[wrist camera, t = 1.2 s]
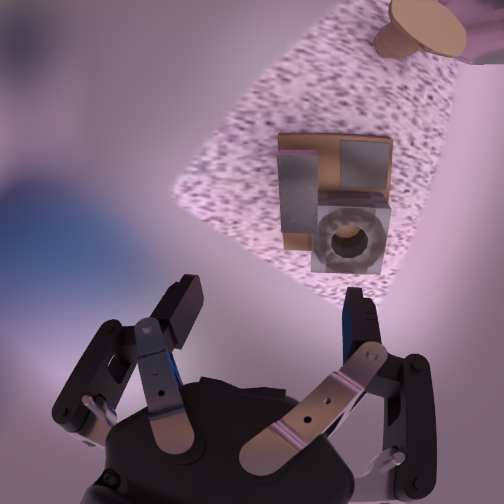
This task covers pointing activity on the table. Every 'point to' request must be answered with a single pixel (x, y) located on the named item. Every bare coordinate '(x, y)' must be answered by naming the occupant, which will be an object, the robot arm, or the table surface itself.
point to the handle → (420, 30)
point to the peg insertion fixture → (346, 201)
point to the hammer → (298, 190)
